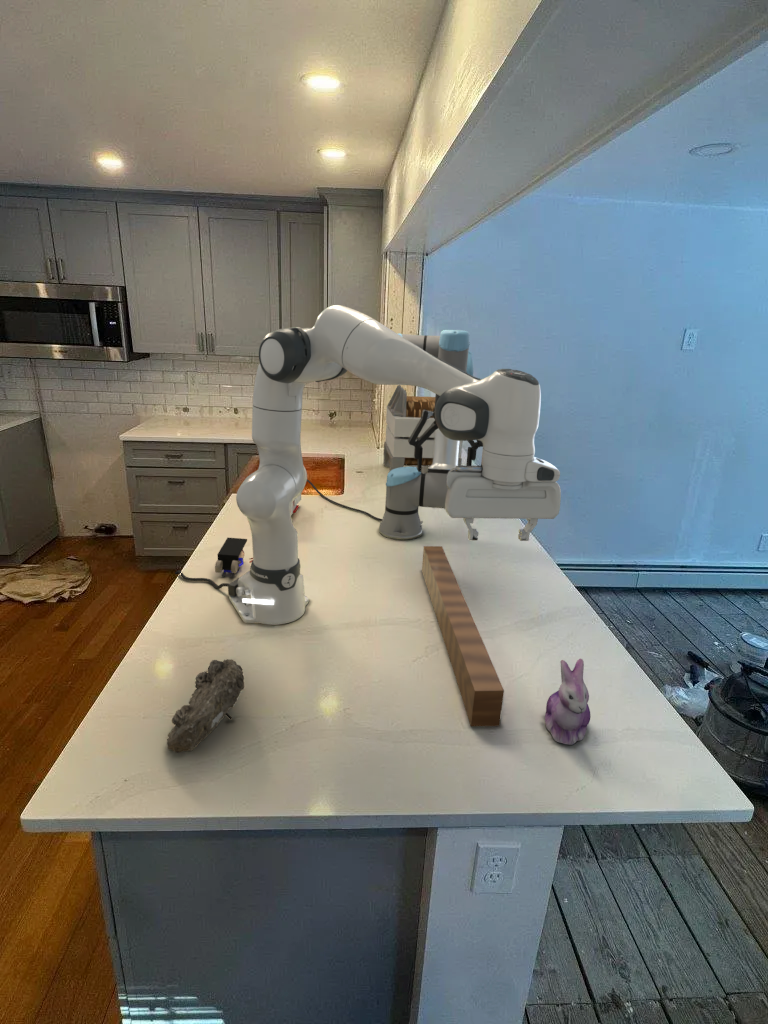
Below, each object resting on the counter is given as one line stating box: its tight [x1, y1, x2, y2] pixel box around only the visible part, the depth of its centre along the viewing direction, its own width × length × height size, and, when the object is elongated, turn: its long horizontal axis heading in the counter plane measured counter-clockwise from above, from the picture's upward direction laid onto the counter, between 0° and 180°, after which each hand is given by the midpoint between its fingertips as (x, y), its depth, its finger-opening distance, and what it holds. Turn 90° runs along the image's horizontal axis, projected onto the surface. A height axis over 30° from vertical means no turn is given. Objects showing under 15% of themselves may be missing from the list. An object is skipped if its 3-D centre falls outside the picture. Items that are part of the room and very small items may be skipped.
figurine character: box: [214, 537, 248, 578], centre depth 166 cm, size 7×8×15 cm
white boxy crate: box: [383, 385, 464, 472], centre depth 268 cm, size 34×33×41 cm
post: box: [421, 545, 505, 727], centre depth 139 cm, size 68×6×8 cm, turn 4°
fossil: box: [166, 658, 245, 754], centre depth 106 cm, size 22×10×15 cm
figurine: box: [544, 658, 592, 746], centre depth 106 cm, size 9×10×15 cm
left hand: (497, 539), depth 103 cm, fingers open, 8 cm apart
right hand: (443, 471), depth 155 cm, fingers open, 13 cm apart
